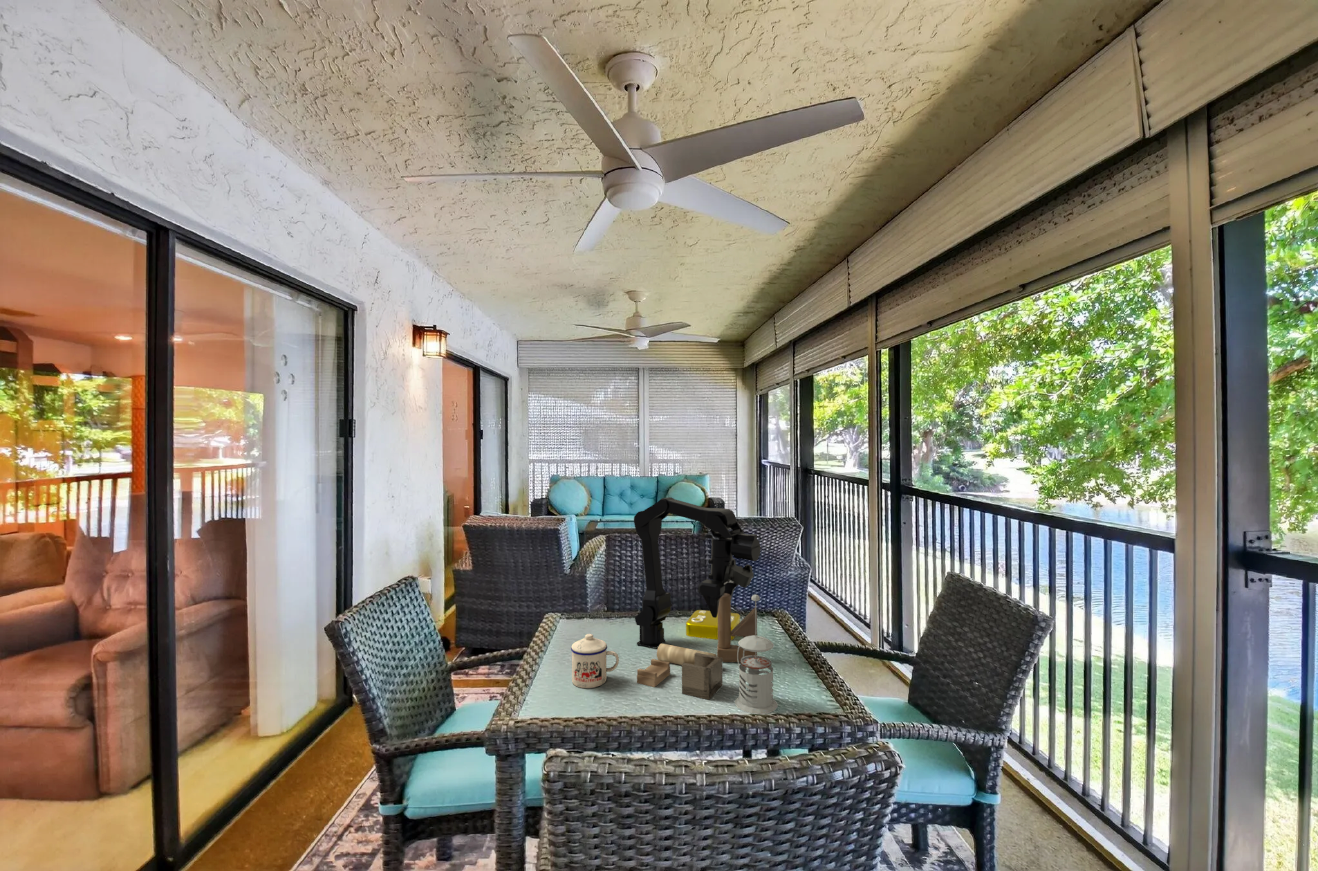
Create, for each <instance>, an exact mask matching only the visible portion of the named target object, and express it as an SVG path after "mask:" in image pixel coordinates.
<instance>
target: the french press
mask: <svg viewBox="0 0 1318 871" xmlns="http://www.w3.org/2000/svg"><path fill="white" fill-rule="evenodd" d="M751 601H754V603H755V604H754V605H755V606H754V608H755V635H753V636H747V637H745V638H743V637H742V638H741V639H740V640H738V643H737V644H738V646H739V648H740V647H741V648H743V649H744V650H745V651H747V650H748V651H752V652H755V655H753V656H752V655H750V656H745V657H744V650H743V658H742V659H741V660H740V662H739V660H738V652H739V648H738V652H737V660H738V662H737V664H738V673H739V674H738V679H739V681H738V684H739V688H738V690H739V691H738V696H737V697H736V699H735V700H734V704H735V706H736V707H737V708H738V709H739V710H742V712H745V713H749V714H757V715H761V714H763V715H764V714H769V713H772V712H775V711H776V709H778V706H779V703H778V702H777V701H776V700H775V698H774V667H773V666H772V663H773V662H772V660H771V659H770V658H768V657H766V656H762V655H757V656H756V652H757V653H765V652H768V651H771V650H772V649H774V647H775V645H774V644H775V643H773V642H772V641H771V640H770V639H768V638H766V637H763V636H761V635H757V636H756V610H757V602H758V601H761V599H760V596H759V595H758V594H753V595H752V596H751ZM766 669H768V670H769V671H768V670H766ZM747 683H748V684H747Z"/></svg>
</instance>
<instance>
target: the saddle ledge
mask: <svg viewBox="0 0 1318 871" xmlns="http://www.w3.org/2000/svg"><path fill="white" fill-rule="evenodd" d="M670 664H671V663H670V662H666V661H661V660H658V659H655V658H652V659H650V664H649V666H647V667H646V668H645V669H643V668H638V669H637V671H636V672H637V673H636V674H637V675H636V684H638V685H639V684H640V685H643V686H648V687H652V688H655V687H657V686H658V685H659V684H660V683H662V682H663V681H664V680H665V679H667V677H669V676H670V675H671V665H670Z"/></svg>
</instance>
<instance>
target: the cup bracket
mask: <svg viewBox="0 0 1318 871" xmlns="http://www.w3.org/2000/svg"><path fill="white" fill-rule="evenodd" d="M694 657H695V665H693V664H688V663H683V664H682V665H681V694H682V695H685V696H689V697H695V698H697V699H698V698H699V699H702V700H707V701H710V700H711V699H712V698H713V696H715V695H716V693H717V692H719V690H720V689H721V688H722V687H723V686H724V685H723V680H724V679H723V662H722V657H717V656H712V655H707V654H701V653H695V654H694Z"/></svg>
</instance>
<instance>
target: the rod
mask: <svg viewBox="0 0 1318 871" xmlns="http://www.w3.org/2000/svg"><path fill="white" fill-rule="evenodd" d="M695 653H701V654H707V655H712V656H717V653H714V652H713V653H712V652H707V651H702V650H698V649H694V648H693V649H691V648H687V647H682V646H676V645H670V644H667V643H663V644H660V645H659V646H658V647H657V650H656V658H657V659H656V660H661V661H666V662H670V664H676V665H680V666H682V664H683V663H688V664H693V665H695V657H694V654H695Z"/></svg>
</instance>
